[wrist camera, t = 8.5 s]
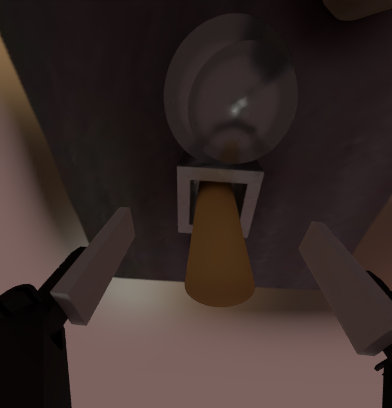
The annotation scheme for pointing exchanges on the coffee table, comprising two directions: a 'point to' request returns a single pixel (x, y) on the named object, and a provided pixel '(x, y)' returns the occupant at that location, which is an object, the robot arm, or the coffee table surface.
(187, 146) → the rosette bracket
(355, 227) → the coffee table surface
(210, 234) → the tapered pin
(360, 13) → the flower pot
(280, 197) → the coffee table surface
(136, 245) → the coffee table surface
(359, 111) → the coffee table surface
